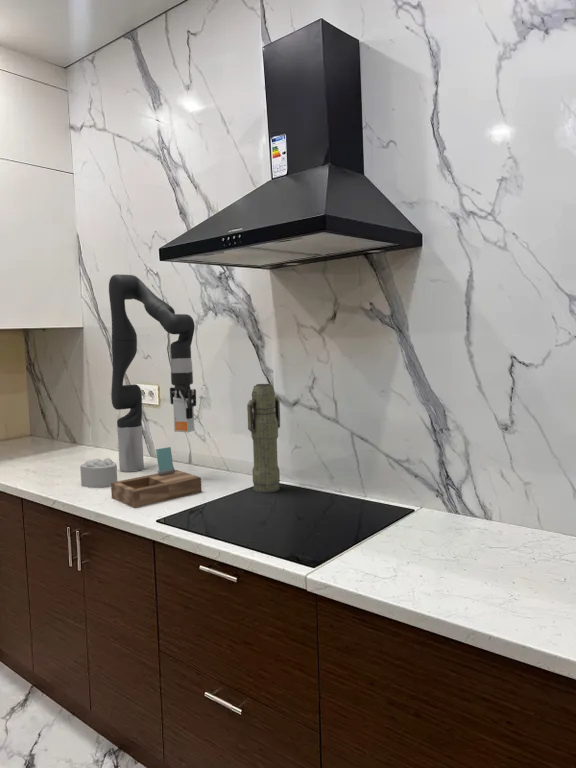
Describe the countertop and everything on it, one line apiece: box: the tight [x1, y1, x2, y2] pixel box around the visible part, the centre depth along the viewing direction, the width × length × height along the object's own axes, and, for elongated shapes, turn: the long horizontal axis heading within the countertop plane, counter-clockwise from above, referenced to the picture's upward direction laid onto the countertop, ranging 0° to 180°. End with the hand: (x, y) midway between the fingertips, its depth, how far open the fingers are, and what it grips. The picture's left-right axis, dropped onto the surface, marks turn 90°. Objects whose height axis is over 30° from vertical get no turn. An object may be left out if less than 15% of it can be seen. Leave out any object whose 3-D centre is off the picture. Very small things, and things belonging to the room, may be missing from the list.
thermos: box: [246, 383, 281, 494], centre depth 191 cm, size 9×12×35 cm
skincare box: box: [172, 397, 195, 433], centre depth 206 cm, size 6×4×12 cm
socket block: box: [110, 469, 203, 509], centre depth 190 cm, size 16×24×5 cm, turn 131°
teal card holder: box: [155, 446, 176, 476], centre depth 196 cm, size 9×6×2 cm
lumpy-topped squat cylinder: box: [79, 457, 118, 489], centre depth 206 cm, size 10×13×9 cm
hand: (183, 417), depth 206 cm, fingers closed on skincare box, 7 cm apart
